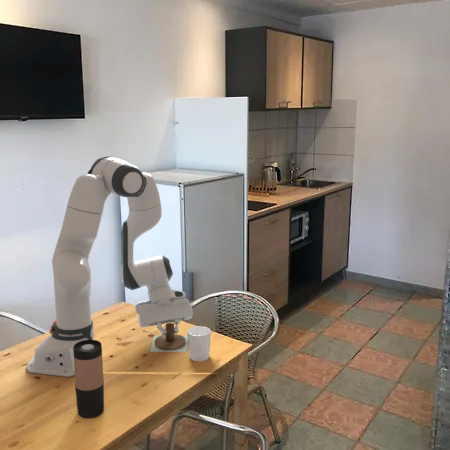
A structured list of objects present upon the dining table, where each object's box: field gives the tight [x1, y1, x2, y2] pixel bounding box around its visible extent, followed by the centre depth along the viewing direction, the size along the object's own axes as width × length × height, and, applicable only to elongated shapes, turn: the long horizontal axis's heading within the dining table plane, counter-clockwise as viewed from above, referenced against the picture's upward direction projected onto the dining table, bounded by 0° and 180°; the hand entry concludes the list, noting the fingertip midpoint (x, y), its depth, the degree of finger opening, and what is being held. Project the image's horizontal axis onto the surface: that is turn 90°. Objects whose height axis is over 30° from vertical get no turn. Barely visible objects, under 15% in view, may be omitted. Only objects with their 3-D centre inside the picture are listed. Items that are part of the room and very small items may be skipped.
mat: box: [149, 335, 189, 353], centre depth 181 cm, size 13×13×1 cm
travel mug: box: [73, 339, 105, 420], centre depth 138 cm, size 8×8×20 cm
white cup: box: [187, 325, 212, 362], centre depth 171 cm, size 8×8×10 cm
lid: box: [155, 322, 185, 350], centre depth 181 cm, size 11×11×7 cm
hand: (170, 333), depth 180 cm, fingers closed on lid, 3 cm apart
